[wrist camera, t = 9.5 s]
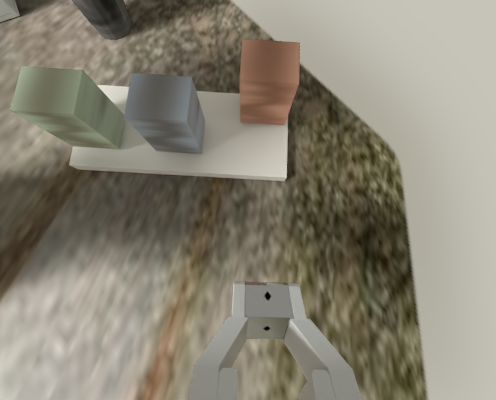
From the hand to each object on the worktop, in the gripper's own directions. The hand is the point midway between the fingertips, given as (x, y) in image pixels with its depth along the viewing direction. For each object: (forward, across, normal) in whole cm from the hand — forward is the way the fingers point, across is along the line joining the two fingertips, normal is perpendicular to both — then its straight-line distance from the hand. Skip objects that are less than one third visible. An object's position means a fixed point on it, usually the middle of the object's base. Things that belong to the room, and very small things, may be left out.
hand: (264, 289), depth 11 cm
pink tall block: (+21, -1, -3) cm, 22 cm away
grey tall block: (+19, +8, 0) cm, 20 cm away
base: (+21, +8, 0) cm, 22 cm away
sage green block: (+19, +17, 0) cm, 26 cm away
